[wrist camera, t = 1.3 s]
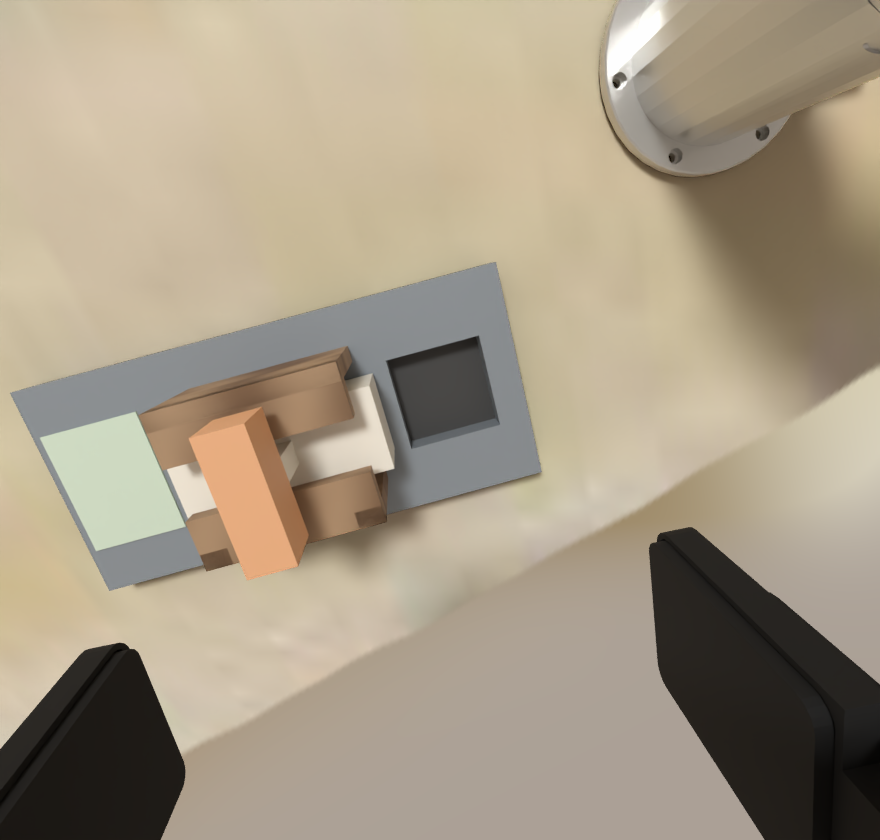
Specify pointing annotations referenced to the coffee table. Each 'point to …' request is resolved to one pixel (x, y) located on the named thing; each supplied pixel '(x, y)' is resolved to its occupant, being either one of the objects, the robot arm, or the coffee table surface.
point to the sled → (277, 474)
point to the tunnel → (288, 413)
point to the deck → (346, 324)
